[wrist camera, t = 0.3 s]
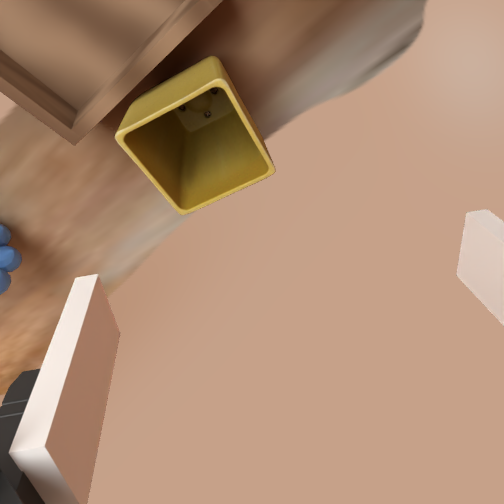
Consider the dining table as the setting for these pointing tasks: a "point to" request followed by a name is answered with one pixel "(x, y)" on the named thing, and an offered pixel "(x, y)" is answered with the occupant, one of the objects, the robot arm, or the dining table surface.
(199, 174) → the flower pot
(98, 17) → the stand
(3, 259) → the blue flower head
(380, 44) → the dining table surface
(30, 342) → the dining table surface
